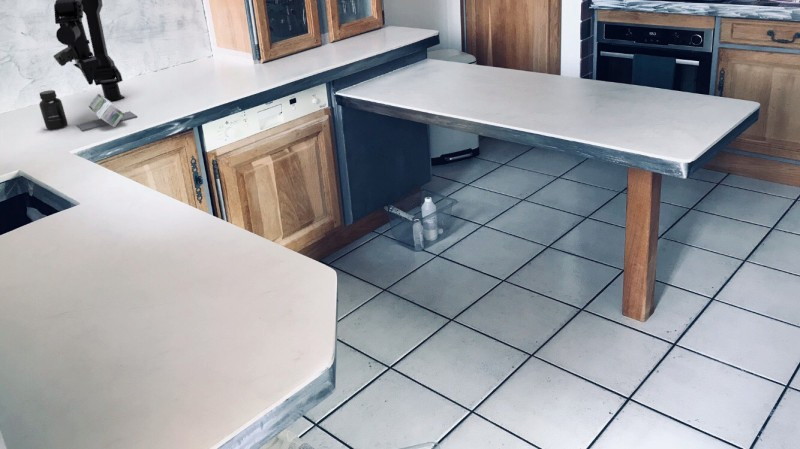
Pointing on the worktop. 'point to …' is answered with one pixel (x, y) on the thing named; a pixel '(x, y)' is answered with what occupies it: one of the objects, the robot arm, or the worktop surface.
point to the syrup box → (106, 110)
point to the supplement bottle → (52, 111)
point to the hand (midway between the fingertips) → (90, 84)
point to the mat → (103, 122)
